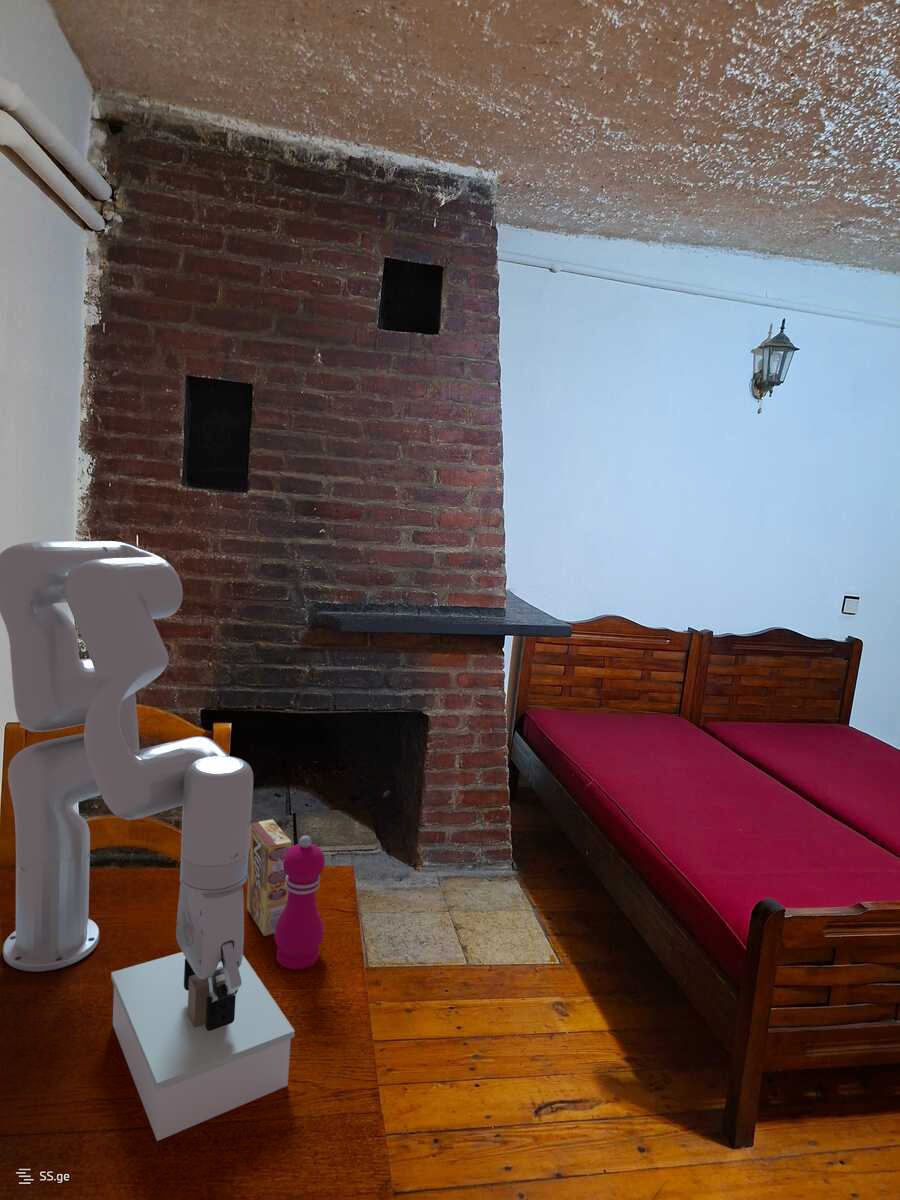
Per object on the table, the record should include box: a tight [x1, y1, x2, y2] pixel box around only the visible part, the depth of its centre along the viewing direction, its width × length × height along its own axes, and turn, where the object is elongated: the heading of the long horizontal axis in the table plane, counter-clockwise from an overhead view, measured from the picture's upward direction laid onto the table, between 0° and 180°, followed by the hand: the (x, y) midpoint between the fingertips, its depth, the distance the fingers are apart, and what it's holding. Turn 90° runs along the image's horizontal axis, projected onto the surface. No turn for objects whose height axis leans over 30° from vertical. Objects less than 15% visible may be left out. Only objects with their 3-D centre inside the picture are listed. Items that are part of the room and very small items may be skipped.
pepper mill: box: [273, 835, 326, 970], centre depth 113 cm, size 7×7×20 cm
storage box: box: [112, 986, 292, 1142], centre depth 93 cm, size 20×15×7 cm
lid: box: [110, 951, 296, 1090], centre depth 92 cm, size 21×16×6 cm
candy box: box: [246, 819, 293, 937], centre depth 123 cm, size 9×4×15 cm, turn 33°
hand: (208, 1004), depth 90 cm, fingers open, 7 cm apart
